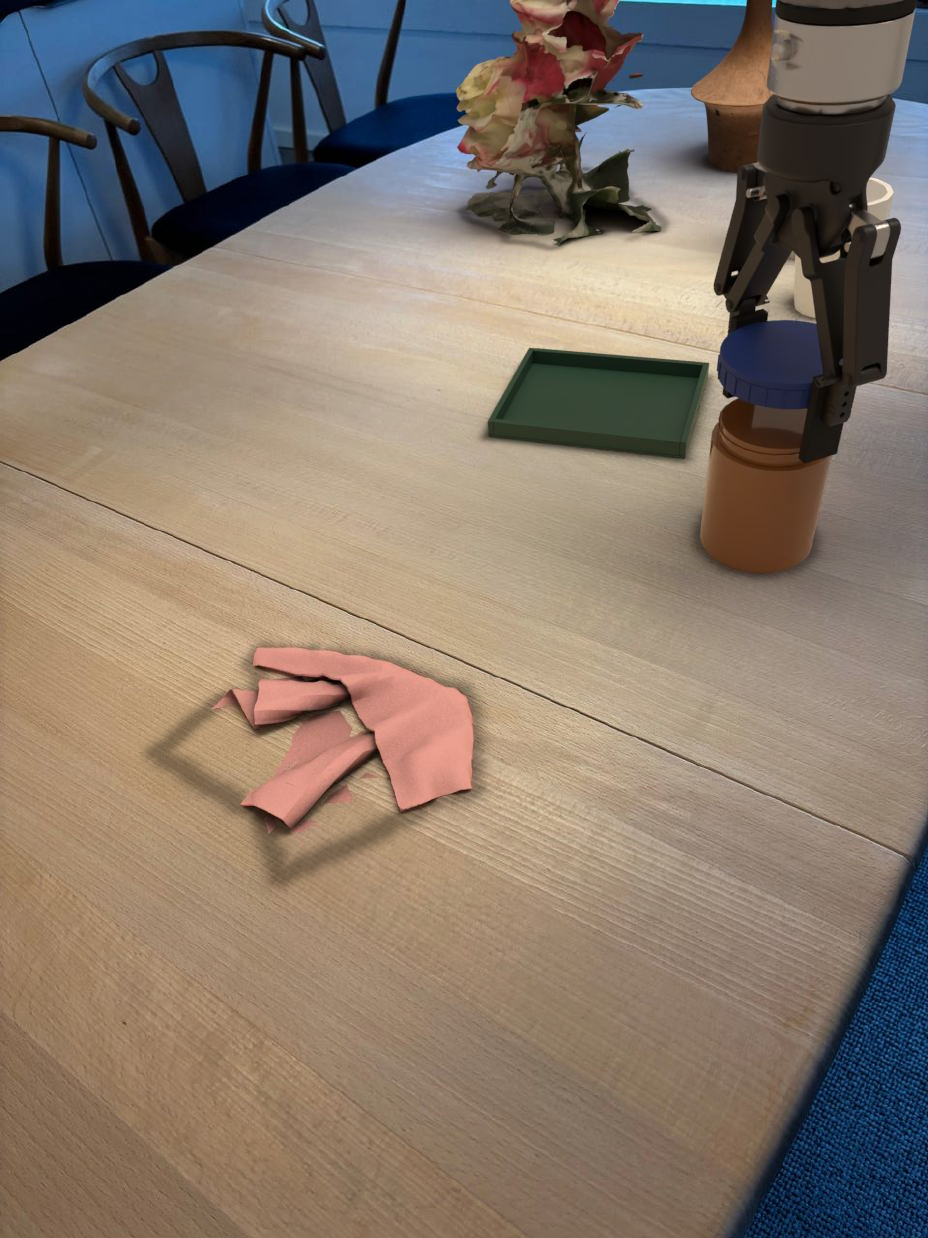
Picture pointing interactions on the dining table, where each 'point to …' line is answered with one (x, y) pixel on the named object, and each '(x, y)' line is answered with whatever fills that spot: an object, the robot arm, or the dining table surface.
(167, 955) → the dining table surface
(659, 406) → the tray
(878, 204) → the foam cup
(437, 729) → the cloth
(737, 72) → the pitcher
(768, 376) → the jar lid
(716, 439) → the jar
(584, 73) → the rose bouquet
